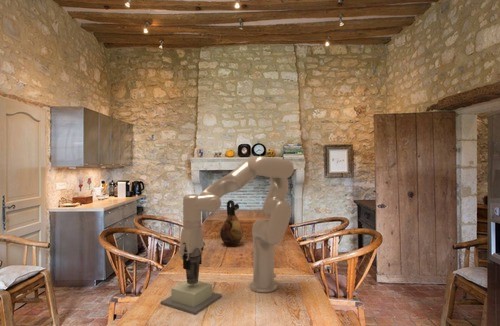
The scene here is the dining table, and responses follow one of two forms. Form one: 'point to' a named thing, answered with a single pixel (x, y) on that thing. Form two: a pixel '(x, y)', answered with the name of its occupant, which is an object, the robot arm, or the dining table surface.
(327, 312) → the dining table surface
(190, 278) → the beverage cup
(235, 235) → the ceramic jug
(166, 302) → the plinth
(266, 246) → the robot arm
